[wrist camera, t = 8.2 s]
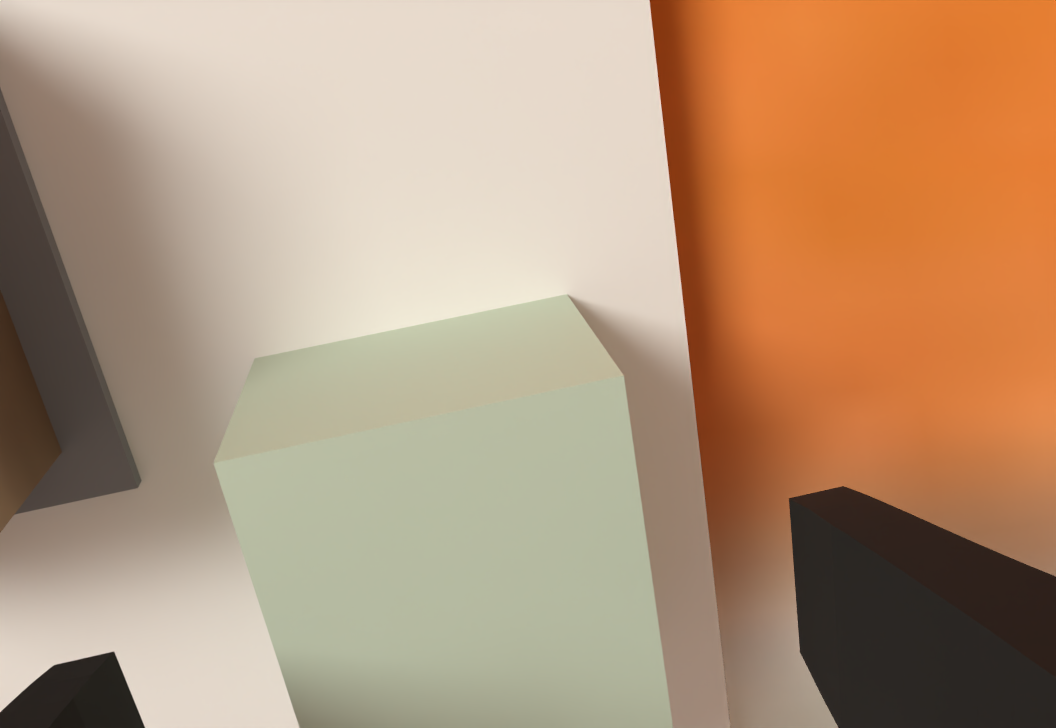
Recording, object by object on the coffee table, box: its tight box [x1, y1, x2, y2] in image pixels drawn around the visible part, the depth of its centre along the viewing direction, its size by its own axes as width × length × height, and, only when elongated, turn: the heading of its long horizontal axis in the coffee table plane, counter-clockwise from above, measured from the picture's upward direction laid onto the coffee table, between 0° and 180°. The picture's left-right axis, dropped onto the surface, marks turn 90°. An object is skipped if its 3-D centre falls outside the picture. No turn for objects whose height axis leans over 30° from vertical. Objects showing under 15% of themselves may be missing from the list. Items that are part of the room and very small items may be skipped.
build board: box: [0, 0, 731, 728], centre depth 13 cm, size 18×13×1 cm
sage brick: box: [214, 294, 673, 728], centre depth 11 cm, size 6×4×3 cm
